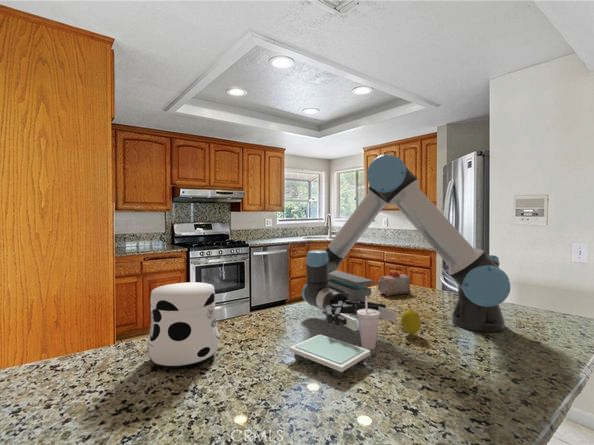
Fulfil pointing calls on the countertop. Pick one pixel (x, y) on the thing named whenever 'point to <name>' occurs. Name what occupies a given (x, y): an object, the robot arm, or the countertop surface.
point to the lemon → (411, 321)
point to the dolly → (330, 353)
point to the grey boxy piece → (394, 284)
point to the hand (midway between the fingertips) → (376, 321)
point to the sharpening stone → (349, 285)
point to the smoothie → (368, 326)
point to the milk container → (182, 324)
